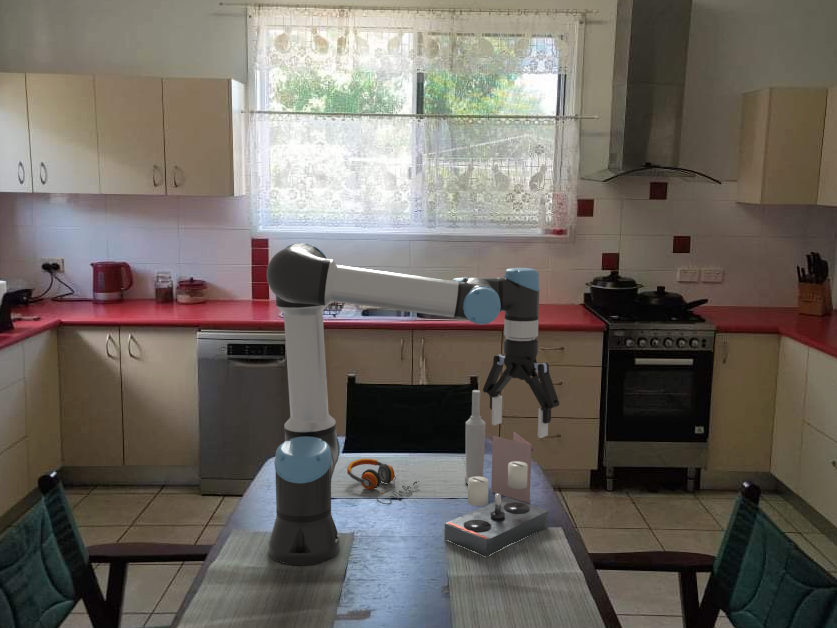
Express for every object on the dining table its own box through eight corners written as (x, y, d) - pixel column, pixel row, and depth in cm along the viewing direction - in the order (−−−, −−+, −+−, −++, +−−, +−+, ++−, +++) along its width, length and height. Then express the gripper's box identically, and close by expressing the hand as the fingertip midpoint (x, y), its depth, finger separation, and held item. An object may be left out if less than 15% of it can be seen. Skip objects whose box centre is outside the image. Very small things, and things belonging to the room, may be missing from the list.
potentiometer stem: (487, 517, 183) (488, 494, 182) (496, 512, 185) (497, 490, 184) (498, 521, 181) (499, 498, 180) (507, 517, 183) (508, 494, 182)
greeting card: (532, 502, 201) (534, 444, 199) (505, 505, 199) (506, 447, 197) (514, 486, 212) (516, 430, 210) (488, 488, 210) (489, 433, 208)
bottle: (461, 480, 216) (463, 389, 212) (479, 478, 217) (481, 388, 213) (468, 487, 211) (470, 394, 207) (487, 485, 212) (489, 392, 208)
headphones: (389, 497, 197) (333, 461, 209) (385, 516, 199) (330, 479, 210) (432, 479, 210) (377, 446, 221) (428, 497, 211) (374, 463, 223)
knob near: (463, 501, 177) (464, 479, 176) (476, 496, 180) (477, 474, 179) (479, 507, 174) (479, 485, 173) (492, 502, 177) (492, 479, 176)
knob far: (503, 485, 187) (504, 464, 186) (515, 480, 190) (516, 459, 189) (519, 490, 184) (519, 469, 183) (530, 485, 187) (531, 464, 186)
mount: (444, 540, 180) (444, 522, 179) (506, 512, 195) (507, 495, 195) (486, 558, 172) (486, 539, 171) (547, 527, 187) (548, 510, 186)
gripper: (577, 342, 175) (574, 438, 178) (489, 328, 192) (488, 415, 195) (556, 348, 169) (553, 446, 173) (468, 332, 187) (467, 422, 190)
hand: (519, 430), depth 184 cm, fingers open, 12 cm apart
